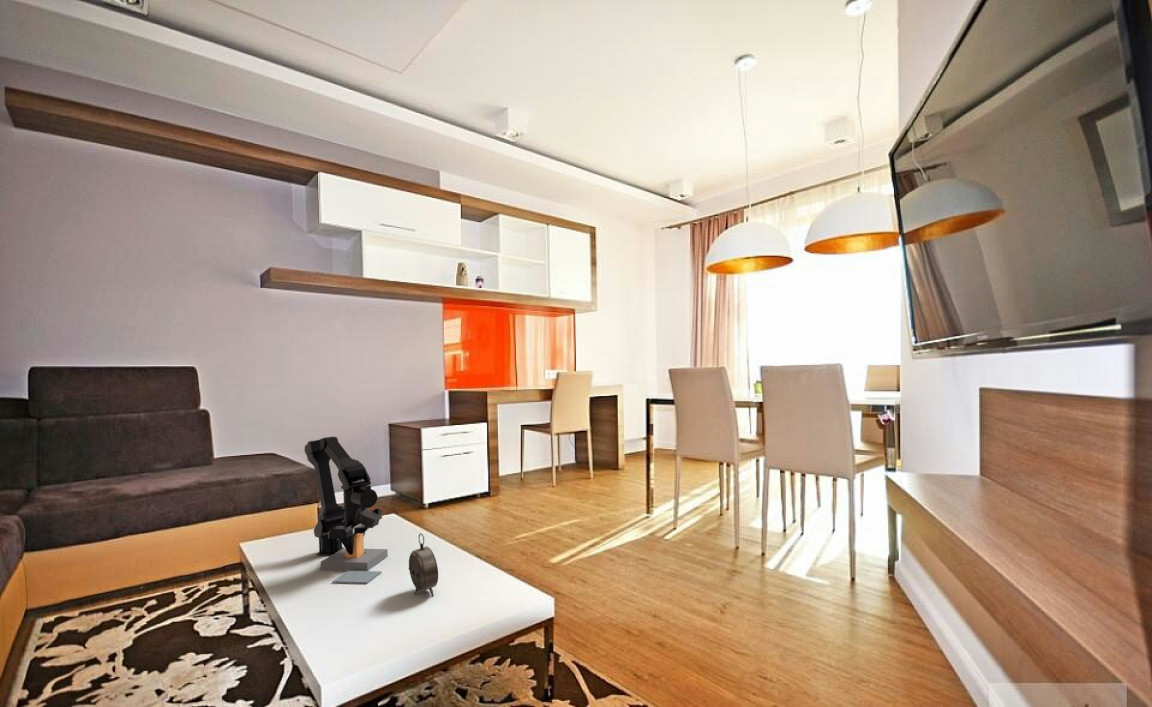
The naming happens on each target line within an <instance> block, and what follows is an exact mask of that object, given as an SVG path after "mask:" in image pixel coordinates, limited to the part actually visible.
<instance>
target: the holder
mask: <svg viewBox="0 0 1152 707" xmlns="http://www.w3.org/2000/svg"><path fill="white" fill-rule="evenodd" d="M388 554H389V553H388V548H364V555H362V556H360V557H359V558H346V556H345V547H344V548H343V549H341V550H340V551H338V552H336V553H335V554H333V555H328V557H325V559H323V560H320V570H321V571H322V570H325V571H370V569H371V570H372V568H373V567H375V566H376V565H378V564H380V563H381V562H383V559H384V560H385V559H386V558H388Z"/></svg>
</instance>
